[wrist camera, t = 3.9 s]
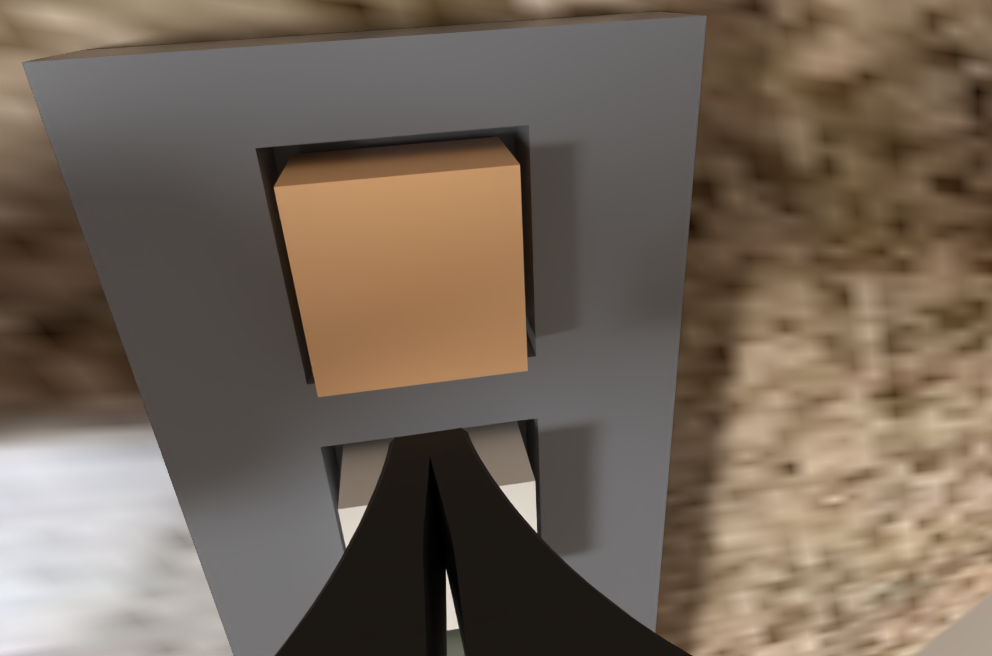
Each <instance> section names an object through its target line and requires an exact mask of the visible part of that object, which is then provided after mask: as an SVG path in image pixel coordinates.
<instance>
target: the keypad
mask: <svg viewBox="0 0 992 656" xmlns="http://www.w3.org/2000/svg"><path fill="white" fill-rule="evenodd" d="M706 19H707V15H696V14H684V13H671V12H658V11H655V12H641V13H626V14H611V15H596V16H581V17H566V18H552V19H537V20H522V21H507V22H492V23H477V24H463V25H448V26H433V27H418V28H403V29H388V30H374V31H359V32H344V33H329V34H314V35H299V36H285V37H270V38H255V39H240V40H225V41H210V42H196V43H181V44H166V45H151V46H136V47H121V48H107V49H92V50H81V51H76V52H71V53H66V54H61V55H56V56H51V57H46V58H41V59H36V60H31V61H26V62H22V65H23V67H24V70H25V73H26V76H27V79H28V81H29V84H30V87H31V90H32V93H33V95H34V98H35V101H36V104H37V107H38V109H39V112H40V115H41V118H42V121H43V123H44V126H45V129H46V132H47V135H48V137H49V140H50V143H51V146H52V148H53V151H54V154H55V157H56V160H57V162H58V165H59V168H60V171H61V174H62V176H63V179H64V182H65V185H66V188H67V190H68V193H69V196H70V199H71V202H72V204H73V207H74V210H75V213H76V216H77V218H78V221H79V224H80V227H81V230H82V232H83V235H84V238H85V241H86V244H87V246H88V249H89V252H90V255H91V258H92V260H93V263H94V266H95V269H96V272H97V274H98V277H99V280H100V283H101V286H102V288H103V291H104V294H105V297H106V300H107V302H108V305H109V308H110V311H111V314H112V316H113V319H114V322H115V325H116V328H117V330H118V333H119V336H120V339H121V341H122V344H123V347H124V350H125V353H126V355H127V358H128V361H129V364H130V367H131V369H132V372H133V375H134V378H135V381H136V383H137V386H138V389H139V392H140V395H141V397H142V400H143V403H144V406H145V409H146V411H147V414H148V417H149V420H150V423H151V425H152V428H153V431H154V434H155V437H156V439H157V442H158V445H159V448H160V451H161V453H162V456H163V459H164V462H165V465H166V467H167V470H168V473H169V476H170V479H171V481H172V484H173V487H174V490H175V493H176V495H177V498H178V501H179V504H180V507H181V509H182V512H183V515H184V518H185V521H186V523H187V526H188V529H189V532H190V535H191V537H192V540H193V543H194V546H195V548H196V551H197V554H198V557H199V560H200V562H201V565H202V568H203V571H204V574H205V576H206V579H207V582H208V585H209V588H210V590H211V593H212V596H213V599H214V602H215V604H216V607H217V610H218V613H219V616H220V618H221V621H222V624H223V627H224V630H225V632H226V635H227V638H228V641H229V644H230V646H231V649H232V652H233V655H234V656H274V655H275V654H276V653H277V652H278V650H279V649H280V648H281V647H282V645H283V644H284V643H285V641H286V640H287V639H288V637H289V636H290V635H291V633H292V632H293V631H294V629H295V628H296V626H297V625H298V624H299V622H300V621H301V619H302V618H303V617H304V615H305V614H306V613H307V611H308V610H309V608H310V607H311V606H312V604H313V603H314V601H315V600H316V598H317V596H318V595H319V593H320V592H321V590H322V589H323V587H324V586H325V584H326V583H327V581H328V579H329V578H330V576H331V574H332V573H333V571H334V569H335V568H336V566H337V564H338V563H339V561H340V559H341V557H342V555H343V554H344V552H345V550H346V546H345V541H344V536H343V532H342V527H341V522H340V518H339V513H338V501H339V490H340V478H341V467H342V456H343V444H348V443H355V442H363V441H370V440H378V439H385V438H393V437H400V436H408V435H415V434H422V433H429V432H436V431H442V430H449V429H456V428H468V427H475V426H483V425H490V424H498V423H505V422H513V421H517V423H518V427H519V430H520V433H521V436H522V440H523V443H524V446H525V449H526V453H527V456H528V459H529V462H530V466H531V469H532V472H533V475H534V478H535V487H536V516H537V534H538V535H539V536H540V537H541V538H542V539H543V540H544V541H545V542H546V543H547V544H548V545H549V546H550V547H551V548H552V549H553V550H554V551H555V552H556V553H557V554H558V555H559V556H560V557H561V558H562V559H563V560H564V561H565V562H566V563H567V564H568V565H569V566H570V567H571V568H572V569H574V570H575V571H576V572H577V573H578V574H579V575H580V576H581V577H583V578H584V579H585V580H586V581H587V582H588V583H589V584H591V585H592V586H593V587H594V588H596V589H597V590H598V591H599V592H601V593H602V594H603V595H605V596H606V597H607V598H608V599H610V600H611V601H612V602H614V603H615V604H616V605H617V606H619V607H620V608H621V609H622V610H624V611H625V612H626V613H628V614H629V615H630V616H631V617H633V618H634V619H636V620H637V621H639V622H640V623H642V624H643V625H644V626H646V627H647V628H649V629H650V630H652V631H653V632H655V631H656V619H657V607H658V595H659V583H660V571H661V559H662V547H663V535H664V523H665V511H666V499H667V487H668V475H669V463H670V451H671V439H672V427H673V415H674V403H675V391H676V379H677V367H678V355H679V343H680V331H681V319H682V307H683V295H684V283H685V271H686V259H687V247H688V235H689V223H690V211H691V199H692V187H693V175H694V163H695V151H696V139H697V127H698V115H699V103H700V91H701V79H702V67H703V55H704V43H705V31H706ZM488 137H499V138H500V140H501V141H502V142H503V143H504V145H505V146H506V147H507V149H508V150H509V151H510V152H511V154H512V155H513V156H514V158H515V159H516V160H517V161H518V163H519V164H520V176H521V203H522V229H523V256H524V283H525V309H526V336H527V363H528V371H523V372H515V373H507V374H499V375H491V376H483V377H475V378H467V379H459V380H451V381H443V382H436V383H428V384H420V385H412V386H404V387H396V388H388V389H380V390H372V391H364V392H356V393H348V394H340V395H332V396H324V397H318V394H317V390H316V385H315V380H314V376H313V371H312V366H311V361H310V357H309V352H308V347H307V342H306V338H305V333H304V328H303V324H302V319H301V314H300V309H299V305H298V300H297V295H296V290H295V286H294V281H293V276H292V272H291V267H290V262H289V257H288V253H287V248H286V243H285V238H284V234H283V229H282V224H281V220H280V215H279V210H278V205H277V201H276V196H275V191H274V186H275V184H276V182H277V180H278V178H279V177H280V175H281V173H282V171H283V170H284V168H285V166H286V164H287V162H288V161H289V159H290V157H291V155H292V154H302V153H314V152H325V151H337V150H349V149H360V148H372V147H383V146H395V145H406V144H418V143H430V142H441V141H453V140H464V139H476V138H488Z"/></svg>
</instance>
